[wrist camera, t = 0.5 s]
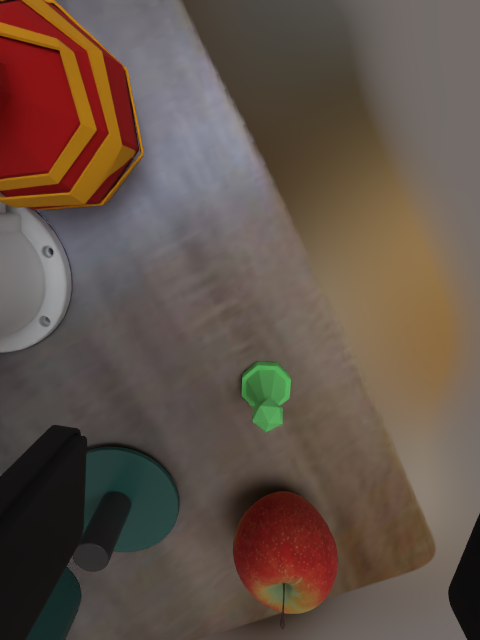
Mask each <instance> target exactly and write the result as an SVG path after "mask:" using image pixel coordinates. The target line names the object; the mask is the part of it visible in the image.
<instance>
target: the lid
mask: <svg viewBox="0 0 480 640" xmlns="http://www.w3.org/2000/svg"><path fill="white" fill-rule="evenodd" d="M178 512H179V496H178V491H177V488H176V486H175V483H174V482H173V480H172V478H171V477H170V475H169V474H168V473H167V471H166V470H165V469H164V468H163V467H162V466H161V465H160V464H158V463H157V462H156V461H155V460H153V459H151V458H150V457H148V456H146V455H144V454H142V453H140V452H137V451H135V450H132V449H127V448H122V447H100V448H95V449H91V450H89V451H87V455H86V482H85V509H84V529H83V534H82V537H81V540H80V542H79V544H78V546H77V548H76V550H75V552H74V554H73V559H74V561H75V563H76V564H77V565H78V566H79V567H80V568H82V569H84V570H86V571H91V572H95V571H100V570H102V569H104V568H105V567H106V566H107V565H108V562H109V560H110V558H111V555H112V553H113V551H115V552H134V551H139V550H143V549H146V548H149V547H151V546H153V545H155V544H157V543H159V542H160V541H161V540H163V539H164V538H165V537H166V536H167V535H168V534H169V533H170V531H171V530H172V528H173V527H174V525H175V522H176V520H177V516H178Z"/></svg>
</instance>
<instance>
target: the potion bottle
mask: <svg viewBox="0 0 480 640" xmlns="http://www.w3.org/2000/svg"><path fill="white" fill-rule="evenodd" d="M133 113H134V114H133ZM134 119H135V121H134ZM135 124H136V127H135ZM136 130H137V133H136ZM137 135H138V140H137ZM138 141H139V146H140V152H141V154H140V155H139V157H138V158H137V159H136V160H135V162H134V163H133V164H132V165H131V167H130V168H129V169H128V170H127V171H126V173H125V174H124V175H123V173H124V172H125V170H126V169H127V167H128V166H129V164H130V163H131V161H132V160H133V158H134V157H135V155H136V154H137V152H138V151H139V146H138ZM143 155H144V151H143V146H142V141H141V136H140V131H139V126H138V121H137V116H136V111H135V105H134V100H133V95H132V90H131V85H130V79H129V75H128V70H127V68H126V67H125V66H123V65H122V64H121V63H120V62H119V61H118V60H117V59H116V58H115V57H114V56H113V55H112V54H111V53H110V52H109V51H108V50H106V49H105V48H104V47H103V46H102V45H101V44H100V43H99V42H98V41H97V40H96V39H95V38H94V37H93V36H92V35H91V34H90V33H88V32H87V31H86V30H85V29H84V28H83V27H82V26H81V25H80V24H79V23H78V22H77V21H76V20H75V19H74V18H73V17H72V16H70V15H69V14H68V13H67V12H66V11H65V10H64V9H63V8H62V7H61V6H60V5H59V4H58V3H57V2H56V1H55V0H0V193H2V194H3V195H4V196H5V197H2V196H1V195H0V202H1V203H4V204H6V205H9V206H12V207H15V208H21V207H27V208H30V209H32V210H49V209H62V208H75V207H88V206H101V205H104V204H105V203H107V202H109V200H110V199H111V198H112V196H113V195H114V194H115V193H116V191H117V190H118V189H119V187H120V186H121V185H122V183H123V182H124V181H125V179H126V178H127V177H128V175H129V174H130V173H131V171H132V170H133V169H134V167H135V166H136V165H137V164H138V162H139V161H140V160H141V158H142V157H143ZM122 175H123V176H122ZM121 176H122V178H121ZM120 178H121V179H120ZM119 179H120V180H119ZM117 182H118V183H117Z"/></svg>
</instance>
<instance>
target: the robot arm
mask: <svg viewBox="0 0 480 640" xmlns="http://www.w3.org/2000/svg"><path fill="white" fill-rule="evenodd" d="M0 195H1V196H2V197H5V196H4V195H3V194H2V193H0ZM51 249H53V252H54V253H52V252H51ZM71 290H72V284H71V271H70V267H69V262H68V258H67V256H66V253H65V251H64V249H63V246H62V244H61V242H60V241H59V239H58V237H57V236H56V234H55V233H54V231H53V229H52V228H51V227H50V226H49V225H48V224H47V223H46V221H45V220H44V219H43V218H42V217H41V216H40V215H39V214H37V213H36V212H35V211H34V210H32V209H30V208H27V207H21V208H15V207H12V206H9V205H6V204H4V203H1V202H0V352H13V351H18V350H22V349H25V348H27V347H30V346H32V345H34V344H36V343H38V342H39V341H41V340H42V339H44V338H46V337H47V336H48V335H49V334H50V333H52V332H53V331H54V330H55V329H56V328H57V327H58V325H59V324H60V322H61V321H62V319H63V318H64V316H65V313H66V311H67V308H68V306H69V303H70V297H71ZM48 318H49V319H48ZM86 455H87V439H86V437H85V436H81V432H80V430H79V429H77V428H71V427H65V426H59V425H53V426H51V427H50V428H49V429H48V430H47V431H46V432H45V433H44V434H43V435H42V436H41V437H40V438H39V439H38V440H37V441H36V442H35V443H34V444H33V445H32V446H31V447H30V448H29V449H28V450H27V451H26V452H25V453H24V454H23V455H22V456H21V457H20V458H19V459H18V460H17V461H16V462H15V463H14V464H13V465H12V466H11V467H10V468H9V469H8V470H7V471H6V472H5V473H4V474H3V475H2V476H0V640H26V638H27V636H28V634H29V633H30V631H31V629H32V627H33V626H34V624H35V622H36V620H37V618H38V617H39V615H40V613H41V611H42V609H43V608H44V606H45V604H46V602H47V600H48V599H49V597H50V595H51V593H52V591H53V590H54V588H55V586H56V584H57V582H58V581H59V579H60V577H61V575H62V573H63V572H64V570H65V568H66V566H67V564H68V563H69V561H70V559H71V557H72V555H73V554H74V552H75V550H76V548H77V546H78V544H79V542H80V540H81V537H82V534H83V529H84V509H85V482H86ZM448 594H449V601H450V605H451V607H452V610H453V612H454V614H455V616H456V618H457V620H458V622H459V624H460V626H461V628H462V630H463V632H464V634H465V636H466V638H467V640H480V514H479V516H478V519H477V521H476V523H475V526H474V528H473V531H472V533H471V536H470V538H469V540H468V543H467V545H466V548H465V550H464V553H463V555H462V557H461V560H460V563H459V565H458V567H457V570H456V572H455V574H454V577H453V579H452V582H451V584H450V586H449V591H448Z"/></svg>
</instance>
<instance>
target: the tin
mask: <svg viewBox="0 0 480 640" xmlns="http://www.w3.org/2000/svg"><path fill="white" fill-rule="evenodd" d="M80 601H81V590H80V586H79V583H78V581H77V579H76V578H75V576H74V575H73V573H72V572H71V571H70V570H69V569H68V568H67V567H66V568H65V570H64V572H63V573H62V575H61V577H60V579H59V581H58V582H57V584H56V586H55V588H54V590H53V591H52V593H51V595H50V597H49V599H48V600H47V602H46V604H45V606H44V608H43V609H42V611H41V613H40V615H39V617H38V618H37V620H36V622H35V624H34V626H33V627H32V629H31V631H30V633H29V634H28V636H27V638H26V640H65V639H66V637H67V634H68V632H69V630H70V628H71V625H72V623H73V621H74V619H75V616H76V614H77V612H78V607H79V605H80Z"/></svg>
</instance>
